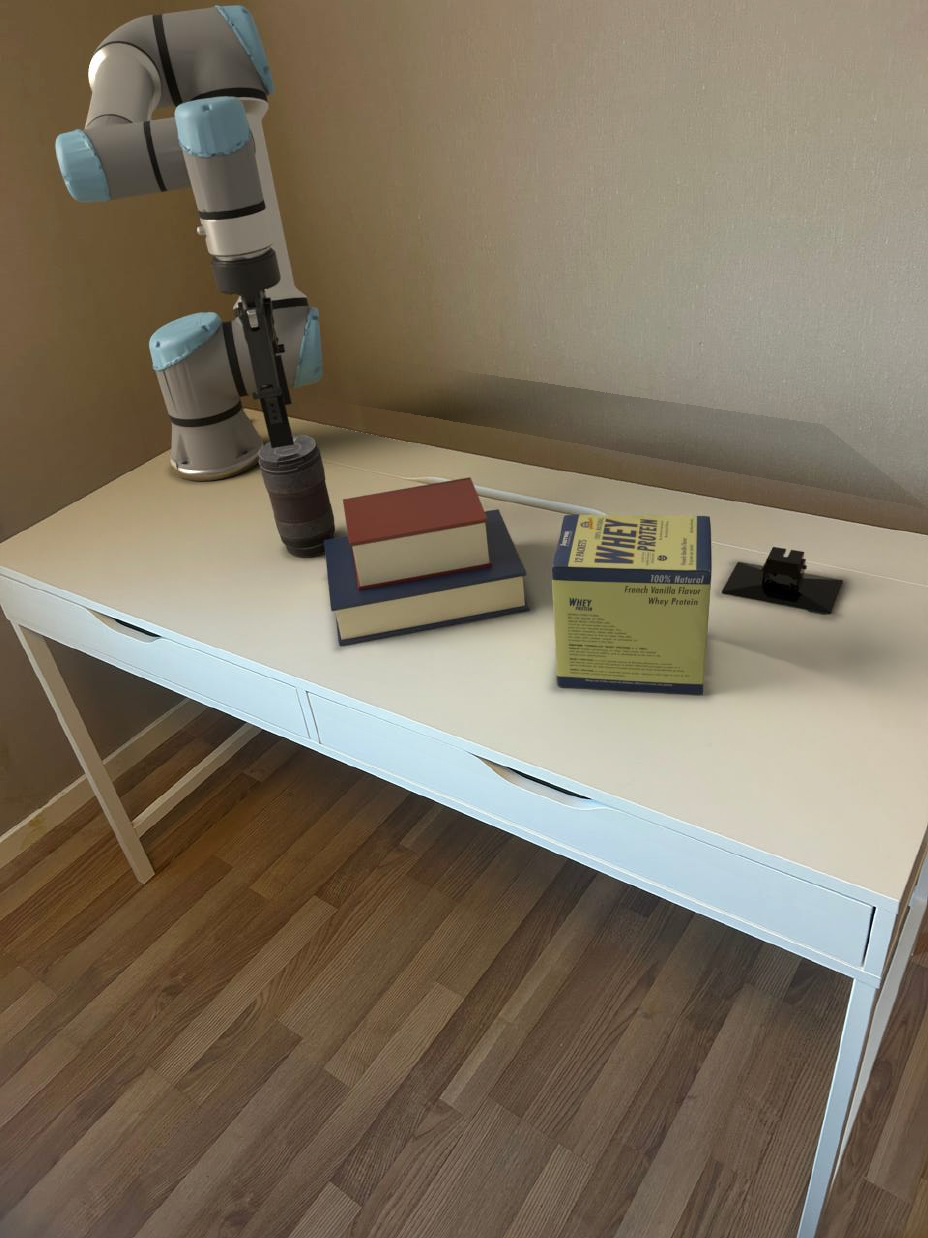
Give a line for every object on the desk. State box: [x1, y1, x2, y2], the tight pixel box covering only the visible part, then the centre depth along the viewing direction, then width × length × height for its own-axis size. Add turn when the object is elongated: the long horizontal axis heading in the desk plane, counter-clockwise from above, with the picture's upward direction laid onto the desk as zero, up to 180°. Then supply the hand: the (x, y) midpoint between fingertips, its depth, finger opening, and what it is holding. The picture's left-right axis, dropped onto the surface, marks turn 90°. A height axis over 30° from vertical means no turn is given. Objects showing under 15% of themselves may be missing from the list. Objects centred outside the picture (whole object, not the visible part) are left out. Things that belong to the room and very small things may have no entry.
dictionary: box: [342, 476, 492, 590], centre depth 112 cm, size 11×16×6 cm
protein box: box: [550, 514, 713, 696], centre depth 97 cm, size 10×16×16 cm
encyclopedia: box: [324, 508, 530, 647], centre depth 116 cm, size 16×23×6 cm
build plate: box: [721, 546, 844, 616], centre depth 109 cm, size 12×7×5 cm, turn 61°
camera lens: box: [258, 434, 336, 558], centre depth 126 cm, size 8×8×15 cm
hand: (282, 424), depth 119 cm, fingers open, 13 cm apart
